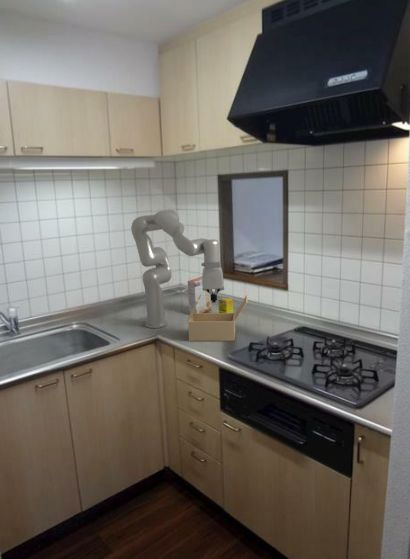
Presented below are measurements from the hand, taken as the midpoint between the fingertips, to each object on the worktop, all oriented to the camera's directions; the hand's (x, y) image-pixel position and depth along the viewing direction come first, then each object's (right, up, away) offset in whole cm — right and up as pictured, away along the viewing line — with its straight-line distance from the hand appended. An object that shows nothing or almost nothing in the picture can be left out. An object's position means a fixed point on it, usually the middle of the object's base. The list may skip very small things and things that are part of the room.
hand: (214, 301), depth 209 cm
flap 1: (-10, -3, +2) cm, 10 cm away
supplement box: (+8, -11, +34) cm, 36 cm away
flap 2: (+13, -3, -1) cm, 13 cm away
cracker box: (-7, -9, +45) cm, 47 cm away
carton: (0, -18, +4) cm, 18 cm away
